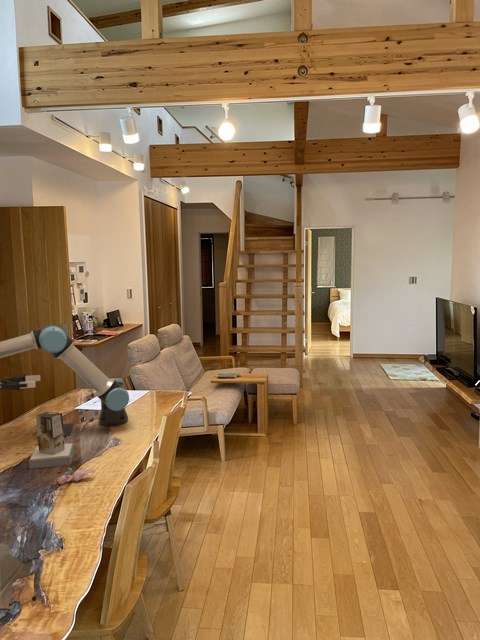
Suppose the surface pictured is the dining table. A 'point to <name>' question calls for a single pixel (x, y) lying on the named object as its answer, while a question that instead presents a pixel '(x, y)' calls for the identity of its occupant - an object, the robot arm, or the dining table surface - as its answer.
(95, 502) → the dining table surface
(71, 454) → the pedestal
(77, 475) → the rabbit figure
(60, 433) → the coffee box
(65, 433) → the notebook
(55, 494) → the dining table surface
